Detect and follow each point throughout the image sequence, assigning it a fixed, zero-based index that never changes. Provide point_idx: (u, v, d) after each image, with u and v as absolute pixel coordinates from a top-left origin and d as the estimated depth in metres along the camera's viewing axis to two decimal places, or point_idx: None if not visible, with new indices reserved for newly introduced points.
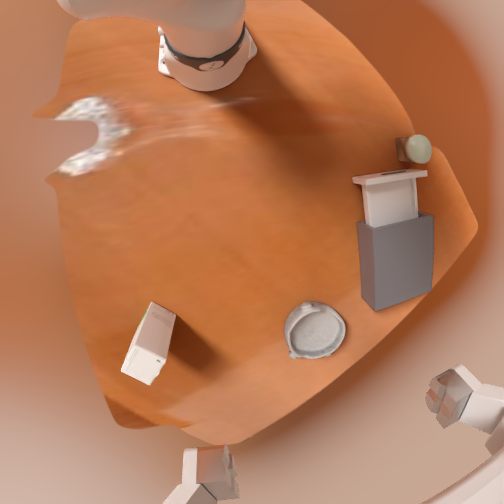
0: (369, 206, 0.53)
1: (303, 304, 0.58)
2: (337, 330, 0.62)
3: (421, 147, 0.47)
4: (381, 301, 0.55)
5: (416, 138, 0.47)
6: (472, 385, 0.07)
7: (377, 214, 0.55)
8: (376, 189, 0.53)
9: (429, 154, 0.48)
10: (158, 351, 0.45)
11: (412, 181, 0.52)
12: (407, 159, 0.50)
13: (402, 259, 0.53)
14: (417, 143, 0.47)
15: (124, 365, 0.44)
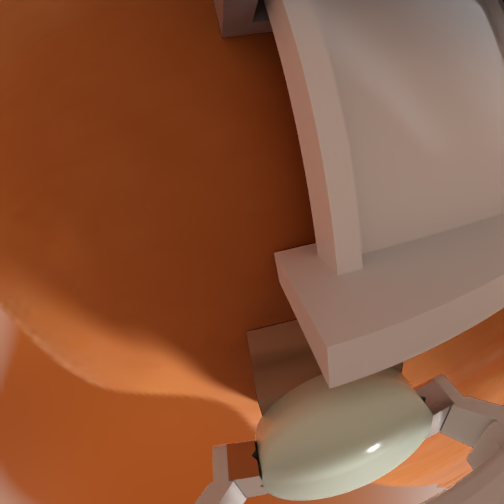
0: None
1: None
2: None
3: (351, 467, 0.07)
4: None
5: (374, 476, 0.08)
6: (453, 397, 0.07)
7: (494, 66, 0.07)
8: None
9: (287, 467, 0.06)
10: None
11: None
12: None
13: None
14: (376, 467, 0.07)
15: None
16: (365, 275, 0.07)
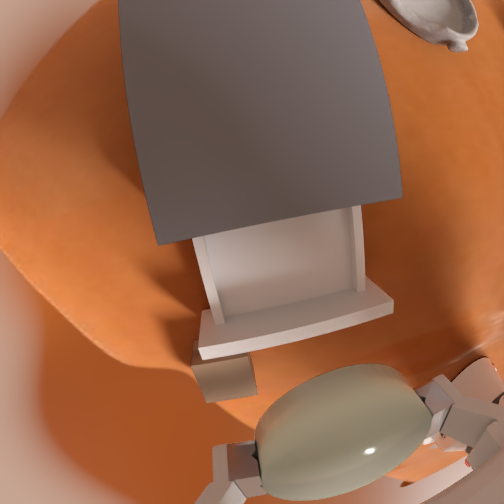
0: (359, 238, 0.22)
1: (461, 51, 0.17)
2: None
3: (350, 468, 0.07)
4: None
5: (373, 476, 0.08)
6: (453, 397, 0.07)
7: (326, 213, 0.22)
8: (328, 274, 0.23)
9: (287, 468, 0.06)
10: None
11: (221, 308, 0.23)
12: (248, 356, 0.24)
13: (284, 87, 0.14)
14: (375, 467, 0.07)
15: None
16: (223, 326, 0.22)
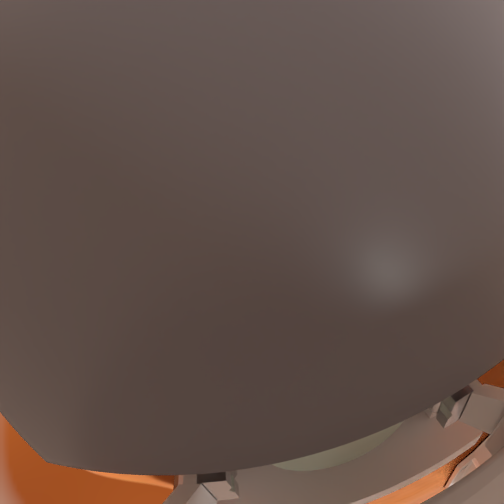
0: None
1: None
2: None
3: None
4: None
5: (363, 449, 0.09)
6: (472, 385, 0.07)
7: None
8: None
9: None
10: None
11: None
12: None
13: None
14: (363, 438, 0.09)
15: None
16: None
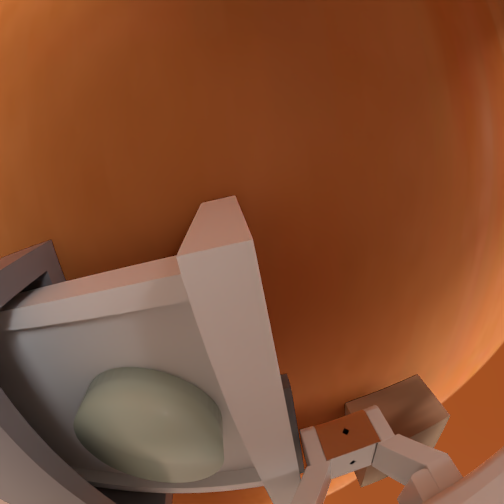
0: (65, 308, 0.07)
1: None
2: None
3: (152, 455, 0.08)
4: None
5: (203, 446, 0.08)
6: (381, 434, 0.07)
7: (60, 353, 0.09)
8: (179, 347, 0.09)
9: (126, 469, 0.09)
10: None
11: (250, 477, 0.12)
12: None
13: None
14: (174, 445, 0.08)
15: None
16: None
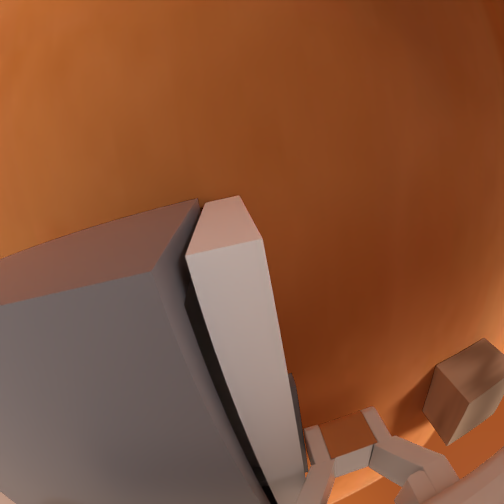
0: None
1: None
2: None
3: None
4: None
5: None
6: (377, 435, 0.07)
7: None
8: None
9: None
10: None
11: None
12: (470, 395, 0.11)
13: (46, 484, 0.05)
14: None
15: None
16: None
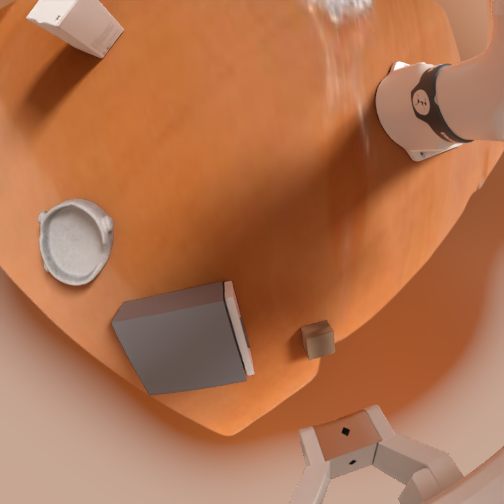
0: None
1: (110, 219, 0.38)
2: (78, 274, 0.41)
3: None
4: (125, 329, 0.40)
5: None
6: (382, 434, 0.07)
7: None
8: None
9: None
10: (69, 17, 0.19)
11: None
12: (308, 337, 0.47)
13: (185, 349, 0.42)
14: None
15: None
16: None
